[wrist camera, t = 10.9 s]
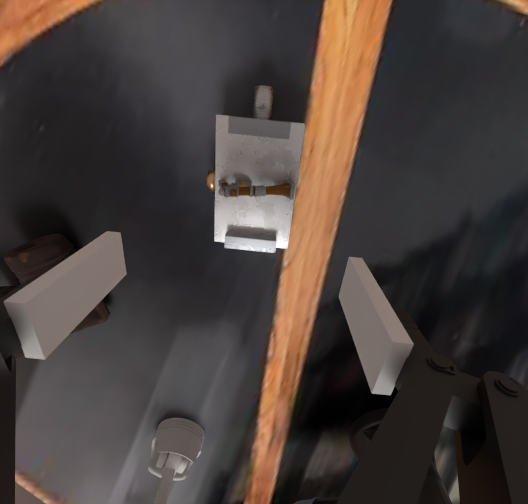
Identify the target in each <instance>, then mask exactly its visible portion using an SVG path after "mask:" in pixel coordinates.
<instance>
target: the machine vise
mask: <svg viewBox="0 0 528 504" xmlns="http://www.w3.org/2000/svg"><path fill="white" fill-rule="evenodd" d="M273 94H274V87H271V86H264V85H255V87H254V102H253V117H252V118H251V117H241V116H231V115H216V159H215V170H209V171H208V175H207V189H208V191H213V192H215V235H214V241H217V242H225V247H224V248H232V249H241V250H251V251H261V252H271V253H275V249H276V248H285V249H287V247H288V240H289V233H290V226H291V219H292V212H293V205H294V200H293V199H291V200H290V199H288V198H287V197H285V196H282V195H266V196H257V197H255V196H253V197H250V196H238V197H227V198H226V197H224V196H221V195H219V193H218V191H219V189H220V187H219V180H223V181H226V182H227V183H229V184H231V183H232V182H233V183H235V181H236V179H237V180H238V181H244V180H246V181H248V182H250V183H251V184H252V187H253V185H255V186H261V185H264V186H274V185H280V184H284V183H285V180H290V181H292V182H294V183H296V184H295V192H296V185H297V178H298V171H299V164H300V157H301V150H302V144H303V137H304V130H305V124H304V123H299V122H289V121H280V120H271V115H272V105H273ZM229 184H228V185H229ZM295 192H294V199H295Z"/></svg>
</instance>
